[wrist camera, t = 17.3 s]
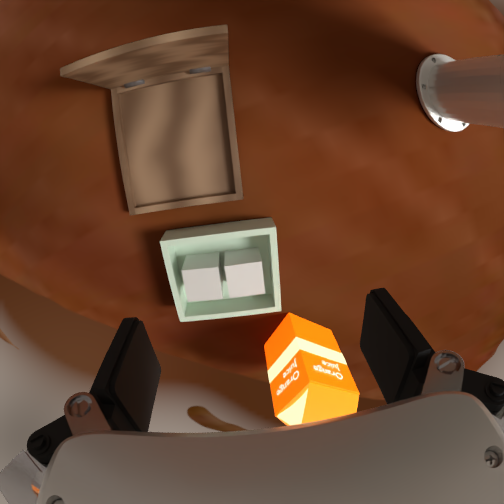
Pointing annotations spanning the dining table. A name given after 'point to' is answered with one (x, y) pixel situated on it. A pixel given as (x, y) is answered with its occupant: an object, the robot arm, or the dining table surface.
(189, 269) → the stone cube
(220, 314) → the sage bin
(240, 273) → the stone cube
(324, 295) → the dining table surface
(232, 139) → the brown hollow box
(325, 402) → the orange juice
